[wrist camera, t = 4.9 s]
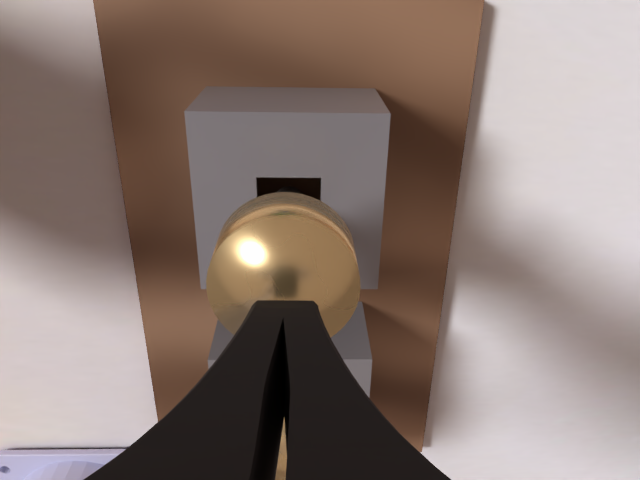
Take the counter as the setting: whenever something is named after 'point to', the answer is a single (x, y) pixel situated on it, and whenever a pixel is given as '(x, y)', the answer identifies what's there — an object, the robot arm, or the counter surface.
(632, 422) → the counter surface
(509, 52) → the counter surface
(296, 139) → the twin gray blocks
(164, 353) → the walnut board
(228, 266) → the brass round knob
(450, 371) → the counter surface
